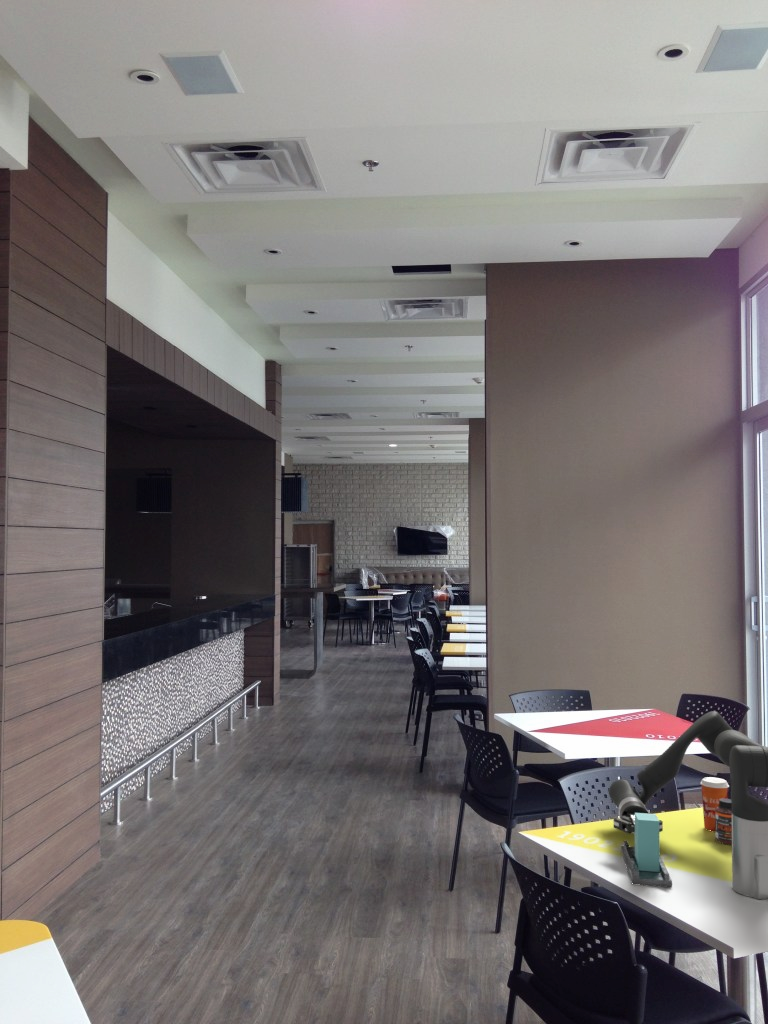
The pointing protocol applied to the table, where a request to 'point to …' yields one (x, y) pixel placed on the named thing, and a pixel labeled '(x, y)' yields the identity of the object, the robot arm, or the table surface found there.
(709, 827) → the paper cup
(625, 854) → the charcoal chute
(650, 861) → the teal block
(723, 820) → the supplement bottle
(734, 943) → the table surface
